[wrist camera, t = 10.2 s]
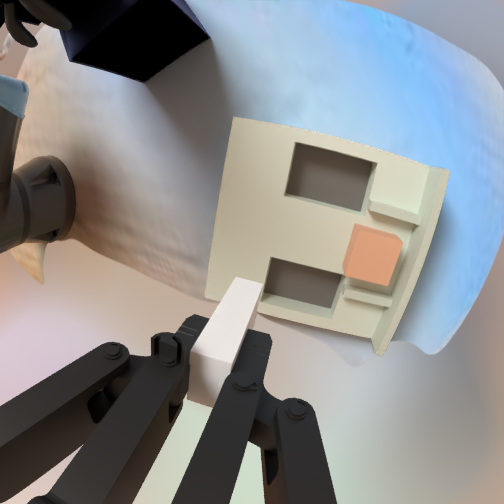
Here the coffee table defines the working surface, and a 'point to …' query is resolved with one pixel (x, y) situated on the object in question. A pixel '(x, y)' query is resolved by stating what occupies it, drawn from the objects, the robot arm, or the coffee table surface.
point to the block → (371, 254)
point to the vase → (111, 31)
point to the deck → (319, 225)
